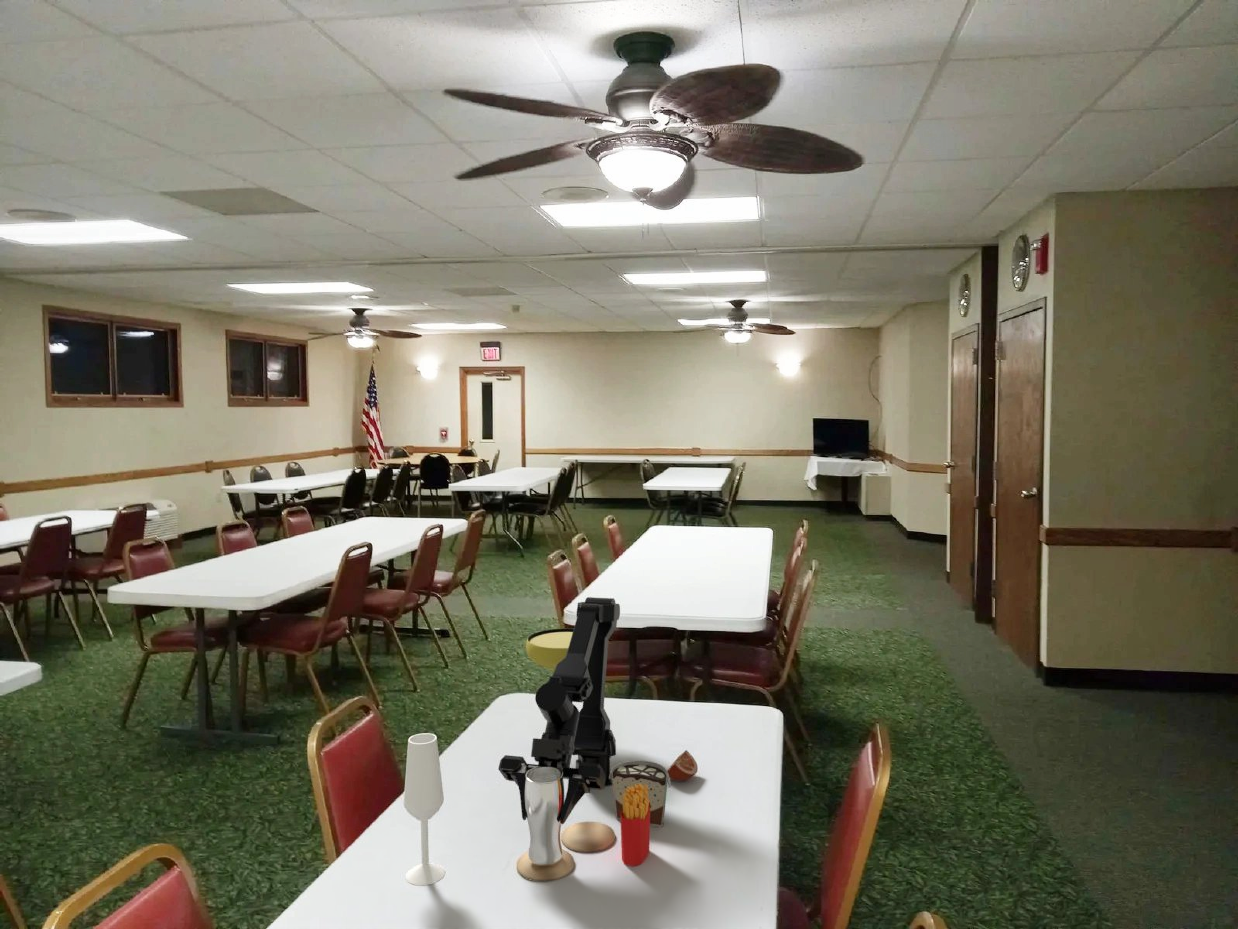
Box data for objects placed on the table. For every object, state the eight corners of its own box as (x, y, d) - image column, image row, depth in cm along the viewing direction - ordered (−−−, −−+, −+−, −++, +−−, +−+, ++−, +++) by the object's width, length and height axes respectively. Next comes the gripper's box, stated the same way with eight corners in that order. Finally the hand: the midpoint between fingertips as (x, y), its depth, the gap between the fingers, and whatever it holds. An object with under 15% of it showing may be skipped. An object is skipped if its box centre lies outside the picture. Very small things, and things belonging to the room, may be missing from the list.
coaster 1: (564, 846, 152) (563, 842, 152) (581, 874, 143) (581, 871, 143) (510, 856, 148) (510, 853, 148) (524, 886, 139) (524, 883, 139)
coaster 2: (603, 820, 161) (603, 817, 161) (622, 845, 152) (622, 842, 152) (554, 830, 158) (554, 827, 158) (570, 856, 148) (570, 853, 148)
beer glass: (566, 866, 143) (565, 781, 142) (526, 869, 142) (524, 784, 141) (564, 844, 150) (562, 764, 148) (525, 847, 149) (523, 766, 148)
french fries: (637, 870, 144) (637, 803, 143) (616, 865, 145) (616, 799, 145) (654, 846, 152) (654, 782, 151) (634, 842, 153) (634, 779, 152)
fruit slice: (673, 768, 185) (673, 746, 184) (702, 773, 182) (702, 751, 182) (660, 784, 177) (660, 761, 177) (690, 789, 174) (690, 766, 174)
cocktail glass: (560, 719, 214) (559, 624, 212) (616, 735, 203) (616, 635, 202) (511, 743, 199) (510, 640, 197) (570, 761, 189) (569, 653, 187)
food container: (678, 813, 164) (678, 764, 163) (669, 828, 158) (669, 777, 158) (619, 804, 168) (618, 756, 167) (609, 818, 162) (608, 768, 162)
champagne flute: (408, 889, 139) (405, 749, 137) (402, 868, 145) (399, 734, 143) (449, 879, 141) (446, 742, 140) (441, 860, 147) (438, 728, 146)
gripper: (500, 712, 150) (478, 800, 140) (601, 720, 146) (585, 811, 136) (516, 737, 158) (496, 821, 148) (611, 745, 154) (598, 833, 144)
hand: (542, 821), depth 144 cm, fingers closed on beer glass, 6 cm apart
